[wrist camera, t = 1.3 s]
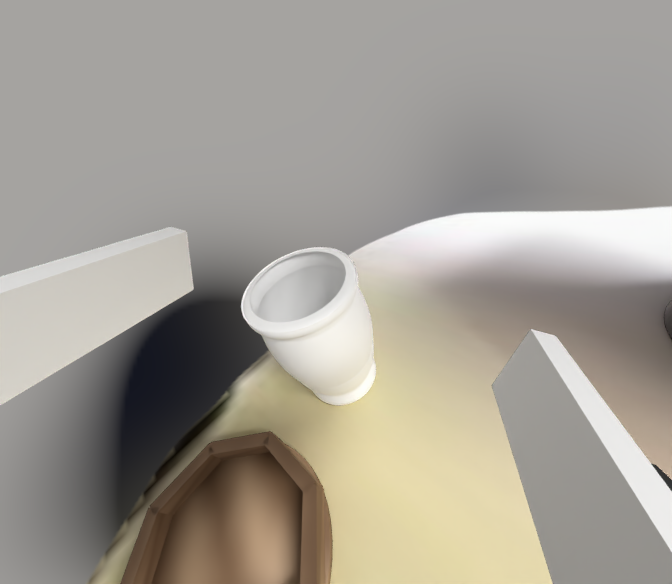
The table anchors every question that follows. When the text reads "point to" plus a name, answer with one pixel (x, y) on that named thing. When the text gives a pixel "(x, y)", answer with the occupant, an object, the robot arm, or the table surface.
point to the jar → (315, 322)
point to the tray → (237, 520)
